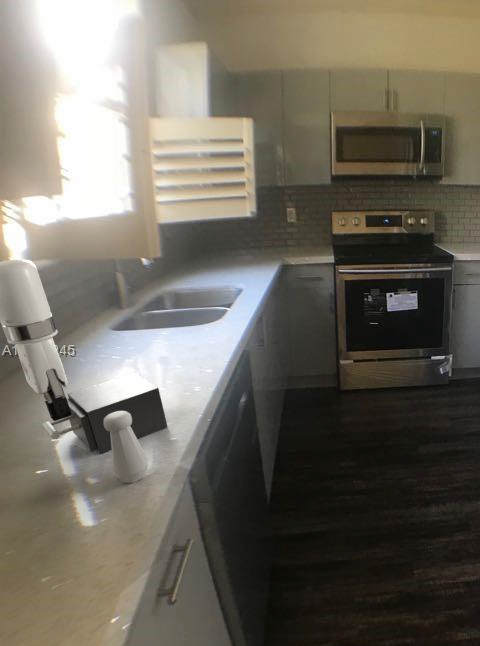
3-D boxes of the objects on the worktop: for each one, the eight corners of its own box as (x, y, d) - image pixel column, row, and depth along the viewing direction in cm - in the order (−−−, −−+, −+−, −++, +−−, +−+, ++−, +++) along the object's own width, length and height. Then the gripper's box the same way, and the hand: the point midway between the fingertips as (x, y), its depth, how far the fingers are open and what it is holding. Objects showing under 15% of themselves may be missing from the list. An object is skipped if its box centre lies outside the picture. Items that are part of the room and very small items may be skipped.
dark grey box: (99, 454, 91) (87, 412, 88) (79, 432, 99) (67, 393, 96) (167, 427, 100) (158, 387, 97) (144, 409, 108) (135, 372, 105)
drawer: (62, 463, 87) (50, 428, 84) (46, 442, 94) (34, 409, 91) (155, 426, 99) (147, 394, 96) (134, 410, 106) (126, 379, 103)
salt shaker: (137, 463, 88) (121, 404, 83) (157, 471, 85) (142, 410, 81) (108, 481, 83) (89, 419, 78) (129, 489, 81) (111, 426, 76)
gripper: (-3, 327, 85) (29, 412, 92) (15, 344, 76) (50, 438, 83) (44, 316, 90) (71, 398, 97) (66, 332, 81) (95, 421, 88)
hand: (61, 416), depth 90 cm, fingers closed
